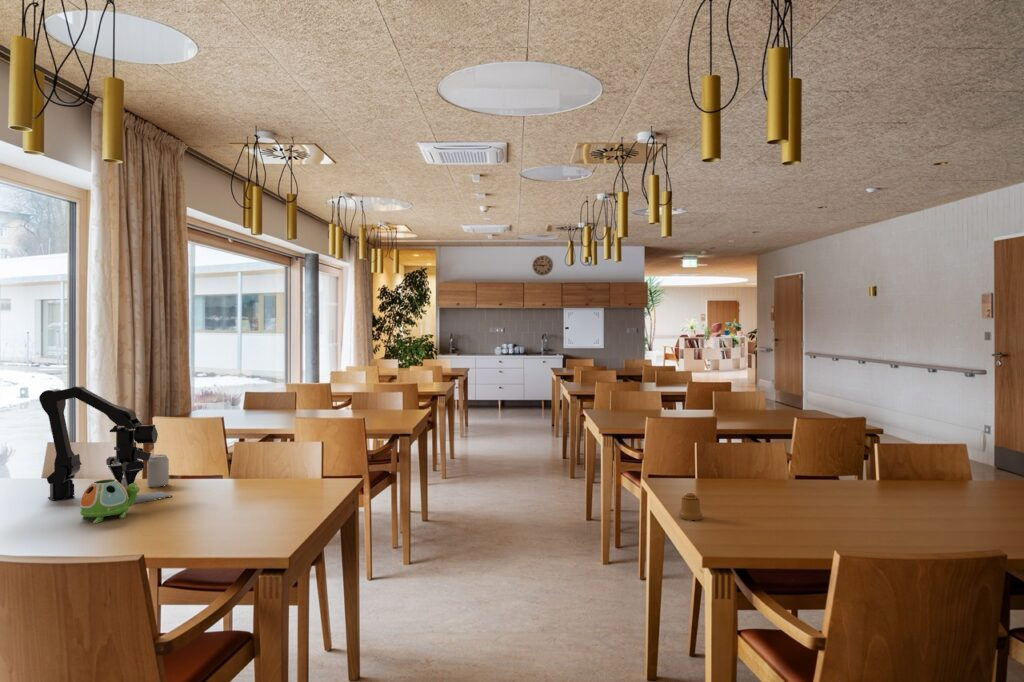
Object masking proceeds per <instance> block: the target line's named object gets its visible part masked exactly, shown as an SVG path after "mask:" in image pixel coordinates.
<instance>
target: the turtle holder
mask: <svg viewBox="0 0 1024 682" xmlns="http://www.w3.org/2000/svg"><path fill="white" fill-rule="evenodd" d="M140 489H141V488H140V487H139V486H138V484H137V482H135V481H134V483H131V484H129V485H128V487H127V489H125V488H124V486H123V485H122V484H120V483H119V482H118V481H117V480H116V479H115V478H106V479H99V480H95V481H92V482H91V484H90V485H88V487H86V488H85V490H84V492H83V493H82V497H81V499H80V505H79V506H80V515H81V516H82V519H83V520H84V519H90V518H95V519H94V520H93V521H92V523H93V524H98V523H101V522H102V521H103V520H104V517H109V516H115V515H118V514H119V516H118V517H119V519H124V517H125V518H126V517H127V511H128V510H129V508H131V506H133V505H134V504H133V503H134V502H135V499H136V495H138V493H140ZM126 490H127V491H126ZM127 493H128V494H127Z"/></svg>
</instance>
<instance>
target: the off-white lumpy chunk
mask: <svg viewBox="0 0 1024 682" xmlns="http://www.w3.org/2000/svg"><path fill="white" fill-rule="evenodd" d="M121 484H122V485H123V486H124V488H125V489H127V487H128V485H127V483H126V480H125V477H124V476H123V479H122V481H121ZM126 491H127V490H126ZM127 494H128V493H127Z"/></svg>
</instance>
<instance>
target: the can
mask: <svg viewBox="0 0 1024 682" xmlns="http://www.w3.org/2000/svg"><path fill="white" fill-rule="evenodd" d="M169 461H170V459H169V457H168V455H167V454H164V453H163V454H151V456H150V459H149V461H146V485H147V486H148V487H149V488H153V487H156V488H161V487H160V486H163V487H165V486H164V485H166V486H167V485H168V484H169V481H170V477H169V476H170V475H169V474H170V472H169V470H170V467H169V466H170V464H169Z"/></svg>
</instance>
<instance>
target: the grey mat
mask: <svg viewBox="0 0 1024 682" xmlns="http://www.w3.org/2000/svg"><path fill="white" fill-rule="evenodd" d="M169 496H172V497H173V495H172V494H168V493H166V492H164V491H154V492H148V493H143V494H137V495H136V499H135V502H134V503H133V504H132V505H135V503H137V504H141V503H140V502H142V503H146V502H145V501H148V502H151V501H150V500H153V501H155V500H154V499H159V498H164V497H169ZM164 499H165V498H164ZM159 500H160V499H159Z"/></svg>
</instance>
